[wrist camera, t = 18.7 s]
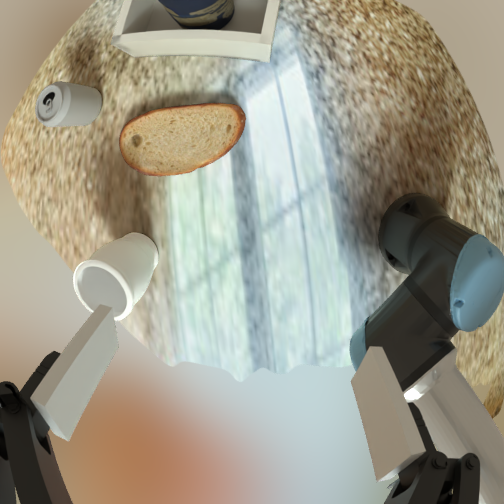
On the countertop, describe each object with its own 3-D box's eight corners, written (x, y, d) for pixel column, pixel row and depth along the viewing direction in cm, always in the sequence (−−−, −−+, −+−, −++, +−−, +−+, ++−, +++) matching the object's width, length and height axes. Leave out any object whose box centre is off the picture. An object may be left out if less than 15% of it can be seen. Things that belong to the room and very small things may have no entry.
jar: (112, 266, 51) (73, 306, 37) (118, 219, 47) (73, 250, 33) (159, 284, 52) (129, 332, 38) (169, 237, 48) (136, 276, 34)
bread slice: (255, 117, 40) (255, 115, 37) (194, 206, 46) (188, 212, 43) (166, 65, 36) (159, 60, 33) (113, 153, 42) (103, 155, 39)
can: (100, 80, 37) (61, 71, 26) (107, 115, 39) (67, 113, 28) (70, 98, 38) (29, 95, 27) (77, 132, 40) (35, 135, 29)
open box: (283, -11, 30) (287, -37, 21) (269, 62, 36) (271, 45, 28) (155, -13, 29) (137, -34, 21) (135, 57, 35) (110, 44, 27)
